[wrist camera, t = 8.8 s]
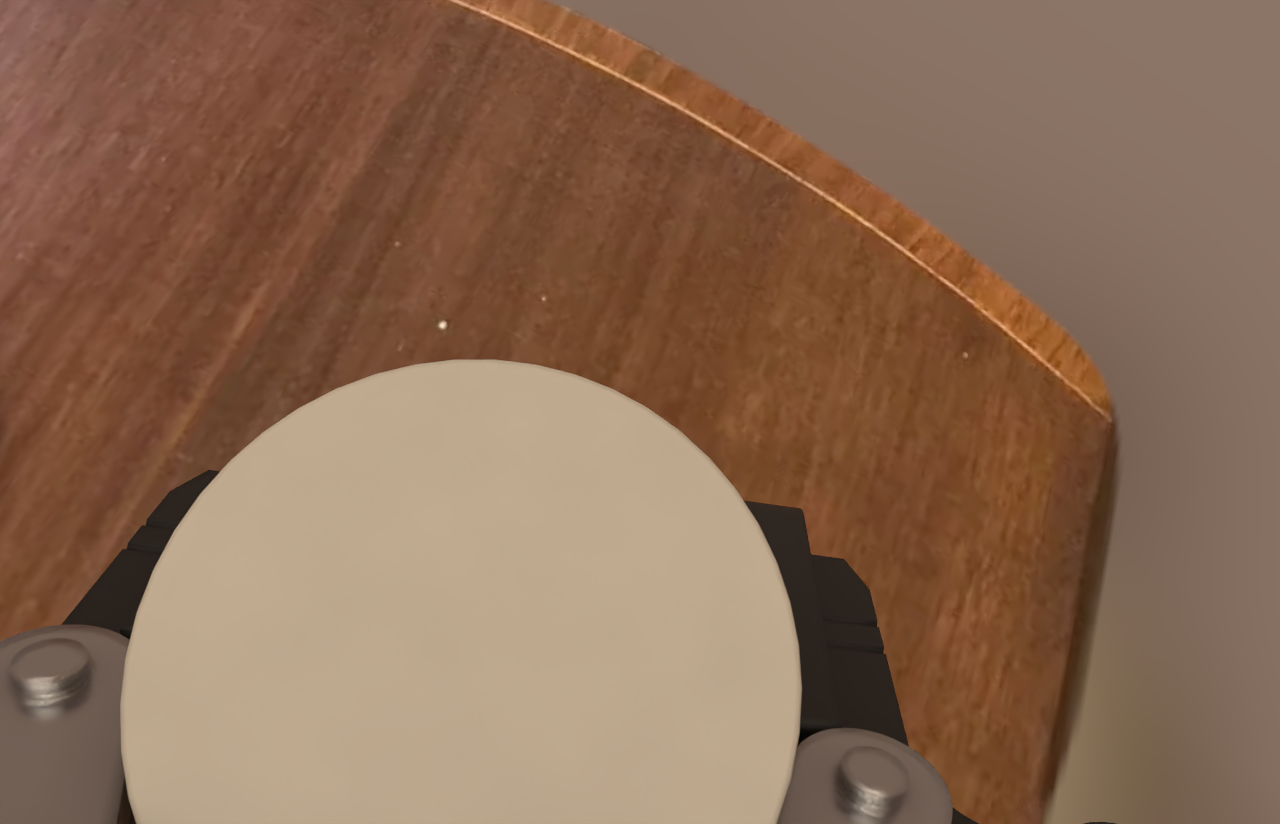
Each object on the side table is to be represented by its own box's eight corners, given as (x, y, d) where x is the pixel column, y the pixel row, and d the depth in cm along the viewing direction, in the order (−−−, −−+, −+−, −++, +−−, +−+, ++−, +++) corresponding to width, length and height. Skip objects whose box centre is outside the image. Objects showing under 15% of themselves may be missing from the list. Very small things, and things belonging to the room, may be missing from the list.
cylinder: (706, 630, 16) (870, 465, 8) (615, 945, 15) (698, 1158, 7) (421, 538, 17) (283, 279, 8) (306, 843, 15) (-13, 921, 7)
